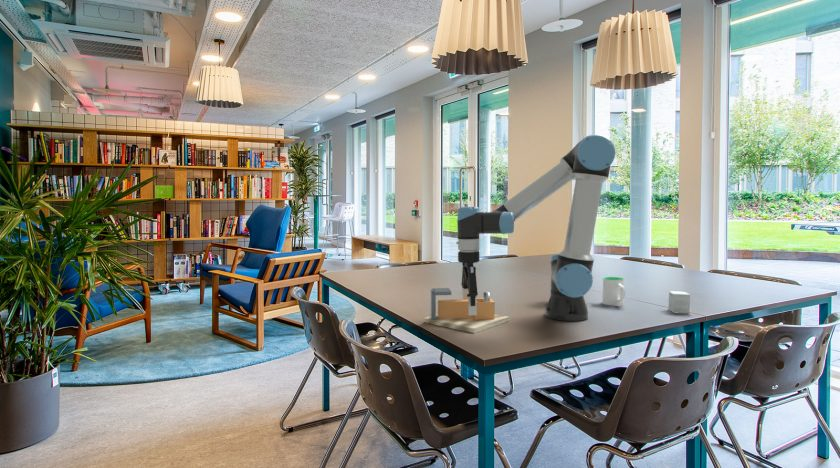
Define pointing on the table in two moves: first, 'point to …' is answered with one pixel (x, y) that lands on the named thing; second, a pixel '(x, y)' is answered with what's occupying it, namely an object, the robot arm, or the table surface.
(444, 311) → the link
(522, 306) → the table surface
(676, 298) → the product box
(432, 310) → the keeper
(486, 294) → the post
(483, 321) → the board
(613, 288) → the mug
